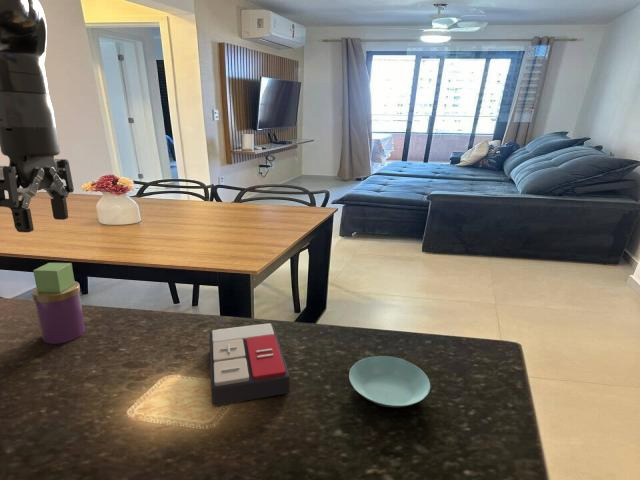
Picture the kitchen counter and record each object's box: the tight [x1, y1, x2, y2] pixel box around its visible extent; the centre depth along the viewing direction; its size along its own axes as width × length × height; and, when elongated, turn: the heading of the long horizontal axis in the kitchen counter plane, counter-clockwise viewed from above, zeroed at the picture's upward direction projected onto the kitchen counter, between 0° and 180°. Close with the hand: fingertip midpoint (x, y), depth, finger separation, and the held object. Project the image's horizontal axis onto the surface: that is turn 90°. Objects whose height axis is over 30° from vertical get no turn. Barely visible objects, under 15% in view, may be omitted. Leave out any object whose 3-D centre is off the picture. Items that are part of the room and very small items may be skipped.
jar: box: [31, 280, 86, 345], centre depth 68 cm, size 7×7×9 cm
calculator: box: [209, 322, 291, 407], centre depth 60 cm, size 11×4×15 cm
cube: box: [32, 262, 75, 293], centre depth 67 cm, size 4×4×4 cm
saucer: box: [348, 355, 431, 408], centre depth 57 cm, size 12×12×2 cm
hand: (44, 225), depth 64 cm, fingers open, 8 cm apart
